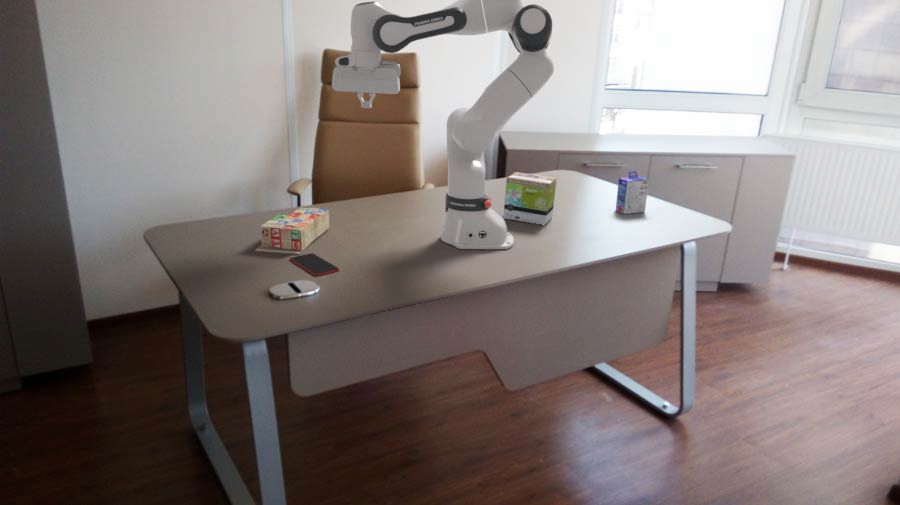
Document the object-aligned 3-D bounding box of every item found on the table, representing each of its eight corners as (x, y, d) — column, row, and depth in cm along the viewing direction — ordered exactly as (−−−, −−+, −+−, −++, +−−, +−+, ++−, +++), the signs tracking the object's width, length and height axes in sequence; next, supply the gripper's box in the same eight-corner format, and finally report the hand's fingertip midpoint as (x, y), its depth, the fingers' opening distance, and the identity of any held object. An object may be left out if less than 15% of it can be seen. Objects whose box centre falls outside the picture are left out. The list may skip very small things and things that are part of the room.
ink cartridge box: (635, 208, 240) (641, 169, 235) (645, 212, 235) (651, 173, 230) (613, 210, 236) (619, 171, 231) (623, 214, 232) (629, 174, 227)
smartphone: (312, 252, 182) (340, 268, 171) (312, 255, 182) (340, 272, 172) (288, 258, 178) (315, 274, 167) (288, 261, 178) (315, 278, 167)
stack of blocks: (330, 228, 203) (293, 224, 205) (329, 208, 201) (292, 205, 203) (301, 251, 183) (261, 246, 186) (300, 230, 181) (259, 226, 183)
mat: (325, 227, 205) (325, 226, 204) (299, 255, 181) (299, 253, 181) (285, 224, 206) (284, 223, 206) (254, 251, 182) (254, 250, 182)
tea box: (502, 219, 220) (505, 177, 215) (511, 212, 229) (514, 171, 224) (545, 226, 215) (549, 182, 210) (553, 218, 224) (557, 176, 219)
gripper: (402, 61, 194) (401, 108, 199) (335, 57, 196) (336, 104, 201) (398, 62, 188) (398, 111, 193) (329, 59, 190) (331, 107, 195)
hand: (366, 107), depth 197 cm, fingers closed
